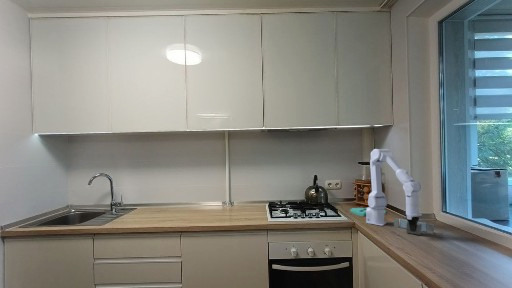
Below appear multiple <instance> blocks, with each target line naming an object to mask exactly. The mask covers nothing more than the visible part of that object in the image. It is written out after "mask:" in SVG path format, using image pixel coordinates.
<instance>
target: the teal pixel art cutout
mask: <svg viewBox="0 0 512 288" xmlns="http://www.w3.org/2000/svg"><path fill="white" fill-rule="evenodd" d="M367 208H368V207H353V208H350V210H349V211H350V213H352V214H354V215H356V216H360V217H366V210H367ZM384 214H387V209H384Z"/></svg>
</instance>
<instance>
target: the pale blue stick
mask: <svg viewBox="0 0 512 288" xmlns="http://www.w3.org/2000/svg"><path fill="white" fill-rule="evenodd" d="M400 219H401V228H402V229H407V222H408V221H407V219H403V218H400ZM417 223H420V224H421V232H426V233H427V223H426V222H421V221H418V222H417Z"/></svg>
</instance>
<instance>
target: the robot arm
mask: <svg viewBox="0 0 512 288" xmlns="http://www.w3.org/2000/svg"><path fill="white" fill-rule="evenodd" d="M383 163H387V164H388V165H389V166H390V168H392V169H393V171H394V172H395V176H396V178H397V179H398V180H399V182H400V183H401V184H402V189H403V191H404V195H405V209H406V210H405V215H406V216H405V220H407V221H408V223H409V227H410V231H413V232H415V231H416V226H417V222H419V220H420V216H421V217H422V216H423V215H422V213H420V206H419V205H420V203H419V201H420V200H419V192H420V191H421V189H422V185H421V183H420V182H419V181H418V180H415V179H414V178H413V177H412V176H411V175H410V173H409V171H408V170H407V169H405V168H402V167H401V166H400V164H399V163H398V161H397V160H396V159H395V157H394V153H393V152H391V150H390V149H389V148H380V149H379V148H374V149H372V151H371V152H370V160H369V164H370V165H369V167H370V179H371V180H370V181H371V192H370V193H369V194H368V199H367V205H368V207H366V208H367V210H366V215H365V219H366V220H365V223H366V224H371V225H377V226H384V225H386V224H387V223H388V222H387V221H385V213H384V210H385V209H386V207H387V206H388V199H387V198H386V194H385V193H384V192H383V188H382V187H383V185H382V172H381V165H382V164H383Z"/></svg>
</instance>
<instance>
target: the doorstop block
mask: <svg viewBox="0 0 512 288" xmlns="http://www.w3.org/2000/svg"><path fill="white" fill-rule="evenodd" d="M406 233H407V234H412V235H418V236H420V235H422V231H421V224H420V223H417V226H416V231H415V232H413V231H410V227H409V223H408V222H407V228H406Z"/></svg>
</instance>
